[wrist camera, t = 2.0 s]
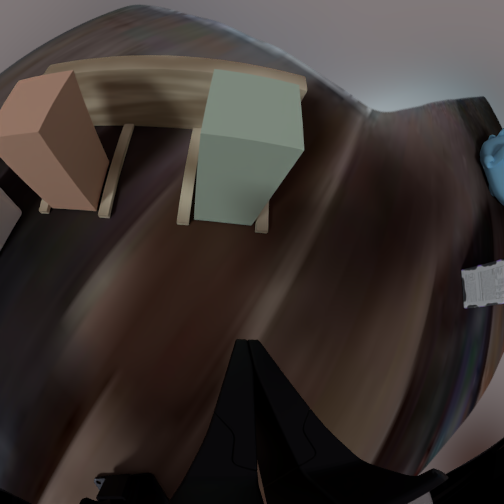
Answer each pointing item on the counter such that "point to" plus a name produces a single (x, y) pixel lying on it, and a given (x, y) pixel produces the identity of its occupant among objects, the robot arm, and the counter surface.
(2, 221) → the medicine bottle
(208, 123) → the sage block
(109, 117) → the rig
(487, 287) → the candy box
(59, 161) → the terracotta block
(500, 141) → the decorative pot
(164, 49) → the counter surface
